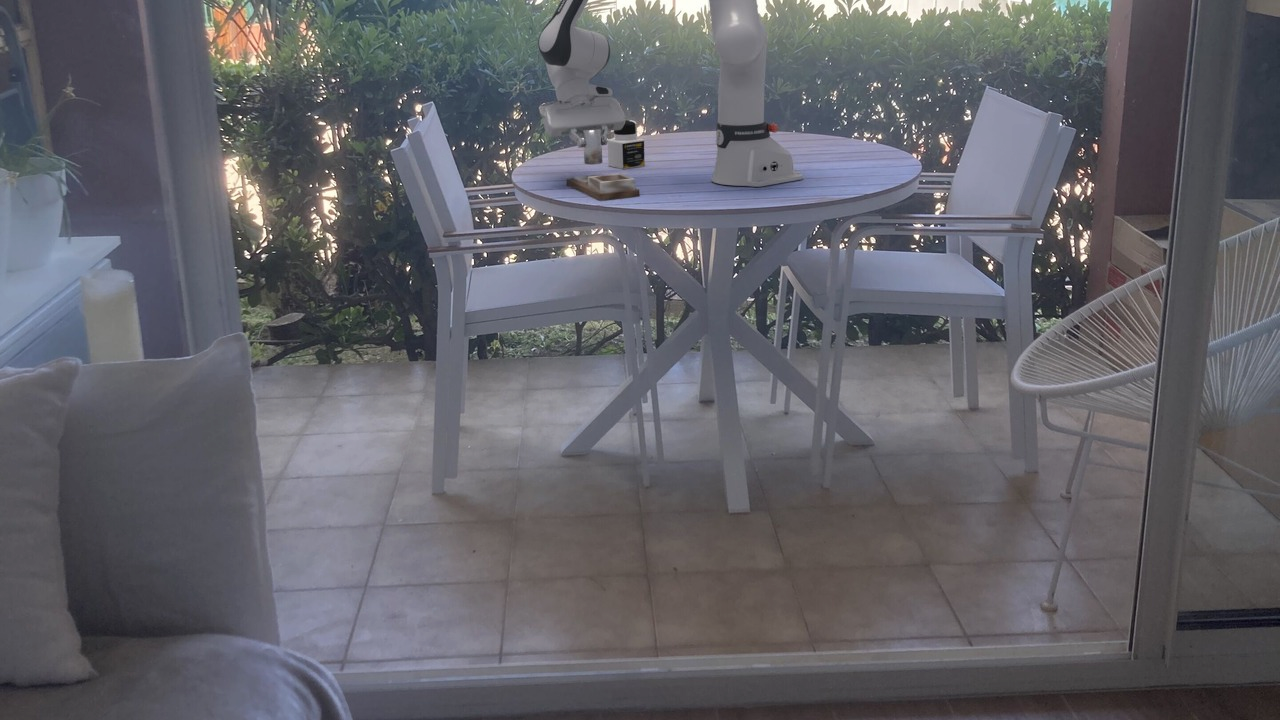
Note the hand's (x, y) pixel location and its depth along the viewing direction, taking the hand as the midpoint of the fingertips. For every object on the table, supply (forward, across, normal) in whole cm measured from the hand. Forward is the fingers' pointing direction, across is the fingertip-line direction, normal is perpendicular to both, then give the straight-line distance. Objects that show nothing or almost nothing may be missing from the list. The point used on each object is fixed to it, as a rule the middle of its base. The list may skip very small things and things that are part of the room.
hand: (593, 144), depth 274 cm
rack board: (+11, 0, +4) cm, 11 cm away
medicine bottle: (-8, +18, +23) cm, 30 cm away
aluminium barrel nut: (+3, 0, +4) cm, 4 cm away
